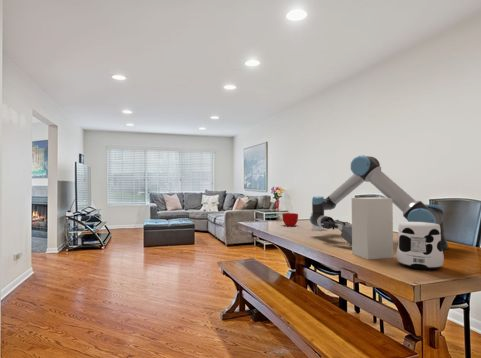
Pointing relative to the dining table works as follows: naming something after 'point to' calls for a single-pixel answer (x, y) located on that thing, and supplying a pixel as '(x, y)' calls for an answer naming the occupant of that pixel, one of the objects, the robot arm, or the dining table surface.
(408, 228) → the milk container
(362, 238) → the pillar
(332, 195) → the robot arm
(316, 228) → the foam cup
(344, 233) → the plug
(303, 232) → the dining table surface
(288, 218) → the ceramic cup
